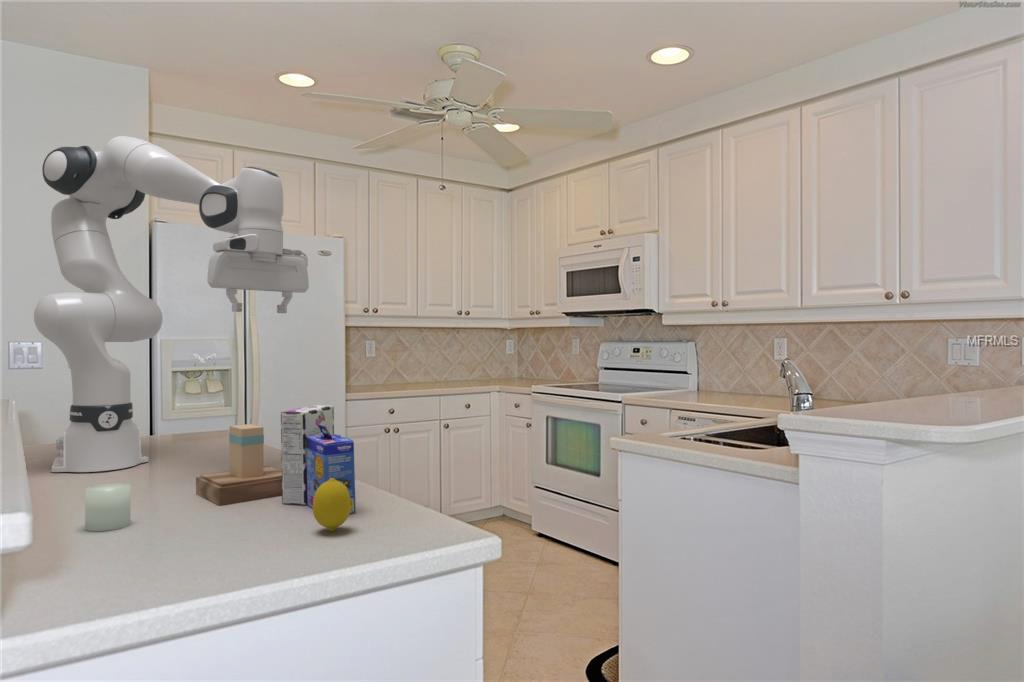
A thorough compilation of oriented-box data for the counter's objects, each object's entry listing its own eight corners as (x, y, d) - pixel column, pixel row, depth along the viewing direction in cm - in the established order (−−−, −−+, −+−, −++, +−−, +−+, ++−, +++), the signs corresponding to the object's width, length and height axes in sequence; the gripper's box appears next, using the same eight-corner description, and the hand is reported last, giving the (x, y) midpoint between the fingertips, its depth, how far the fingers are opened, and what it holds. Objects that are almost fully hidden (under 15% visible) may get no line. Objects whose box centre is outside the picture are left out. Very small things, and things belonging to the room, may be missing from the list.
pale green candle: (82, 524, 102) (83, 486, 102) (127, 518, 106) (127, 481, 106) (87, 533, 97) (87, 493, 97) (133, 527, 101) (133, 488, 101)
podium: (196, 493, 123) (196, 474, 123) (269, 482, 132) (269, 465, 132) (219, 505, 114) (219, 485, 114) (296, 492, 123) (296, 474, 123)
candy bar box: (311, 490, 126) (311, 404, 126) (335, 491, 125) (335, 405, 125) (279, 504, 115) (279, 410, 115) (305, 506, 114) (305, 411, 114)
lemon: (315, 538, 95) (315, 483, 95) (310, 528, 100) (310, 476, 100) (353, 534, 98) (353, 480, 97) (347, 524, 103) (347, 473, 103)
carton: (229, 473, 124) (229, 425, 124) (250, 470, 127) (250, 424, 127) (241, 478, 119) (241, 429, 119) (263, 475, 122) (263, 427, 122)
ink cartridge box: (304, 505, 114) (304, 422, 114) (335, 501, 117) (335, 420, 117) (324, 518, 106) (324, 428, 106) (356, 513, 109) (356, 426, 109)
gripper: (301, 252, 146) (300, 314, 147) (204, 242, 133) (204, 311, 133) (314, 249, 142) (313, 313, 142) (215, 239, 128) (215, 310, 128)
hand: (259, 312), depth 137 cm, fingers open, 8 cm apart
